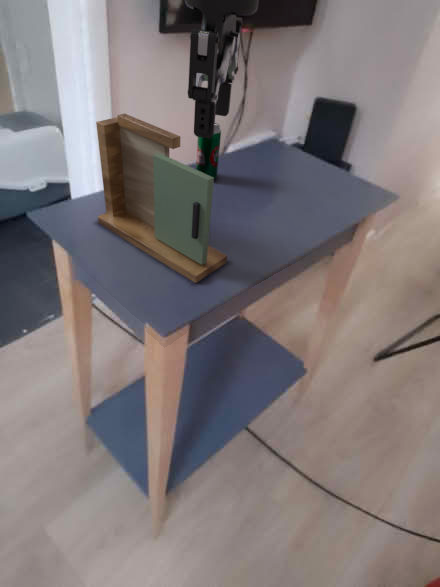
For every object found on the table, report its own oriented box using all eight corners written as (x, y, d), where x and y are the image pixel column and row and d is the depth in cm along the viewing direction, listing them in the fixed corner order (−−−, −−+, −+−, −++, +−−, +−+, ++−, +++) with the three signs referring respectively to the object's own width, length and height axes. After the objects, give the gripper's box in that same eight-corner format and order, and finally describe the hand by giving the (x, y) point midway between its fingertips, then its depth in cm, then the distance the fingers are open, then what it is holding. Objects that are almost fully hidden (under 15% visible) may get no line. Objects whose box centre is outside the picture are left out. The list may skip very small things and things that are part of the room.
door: (199, 267, 63) (205, 181, 54) (151, 239, 68) (149, 155, 58) (206, 262, 65) (214, 177, 55) (159, 234, 69) (158, 152, 60)
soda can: (192, 173, 93) (195, 121, 86) (212, 172, 95) (217, 120, 87) (199, 183, 90) (202, 129, 82) (219, 181, 92) (225, 128, 84)
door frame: (195, 283, 63) (203, 170, 50) (98, 223, 74) (84, 117, 61) (226, 262, 68) (240, 154, 55) (131, 209, 79) (124, 108, 66)
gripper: (205, -53, 43) (197, 104, 54) (163, -58, 32) (164, 139, 43) (273, -45, 42) (251, 113, 53) (252, -48, 32) (230, 151, 42)
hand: (212, 125), depth 48 cm, fingers open, 8 cm apart
